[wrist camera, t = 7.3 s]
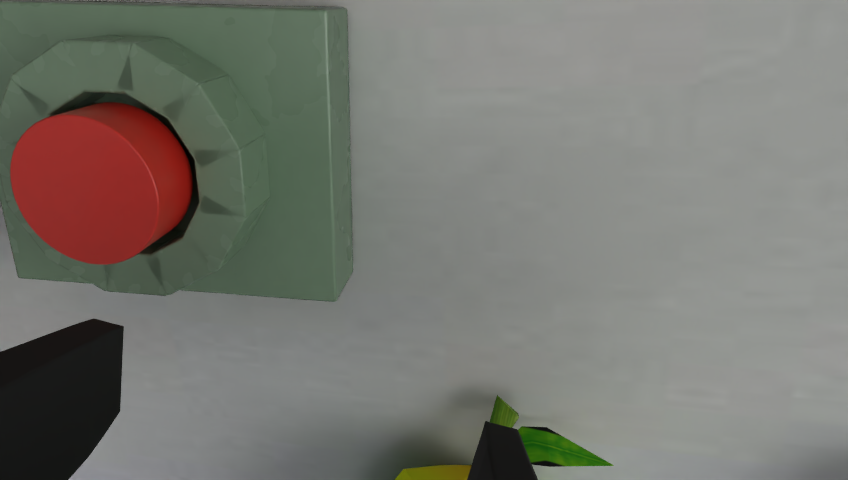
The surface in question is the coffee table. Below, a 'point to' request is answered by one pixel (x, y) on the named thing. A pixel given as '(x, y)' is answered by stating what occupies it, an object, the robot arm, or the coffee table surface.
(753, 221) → the coffee table surface
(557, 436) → the apple
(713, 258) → the coffee table surface
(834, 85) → the coffee table surface
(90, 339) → the robot arm
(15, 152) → the button
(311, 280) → the button block
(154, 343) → the coffee table surface
